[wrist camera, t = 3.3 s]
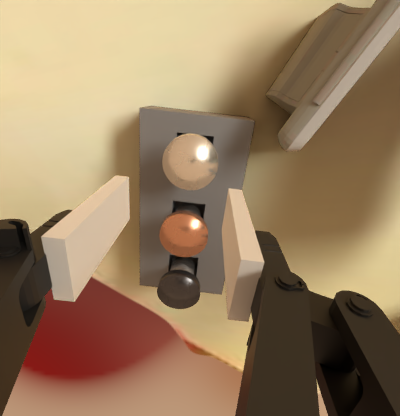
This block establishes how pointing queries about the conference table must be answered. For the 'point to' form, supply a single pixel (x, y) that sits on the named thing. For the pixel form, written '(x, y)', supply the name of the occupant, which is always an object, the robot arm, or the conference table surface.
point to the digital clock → (330, 65)
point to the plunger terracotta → (184, 232)
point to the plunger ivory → (190, 161)
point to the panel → (174, 196)
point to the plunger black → (179, 285)
